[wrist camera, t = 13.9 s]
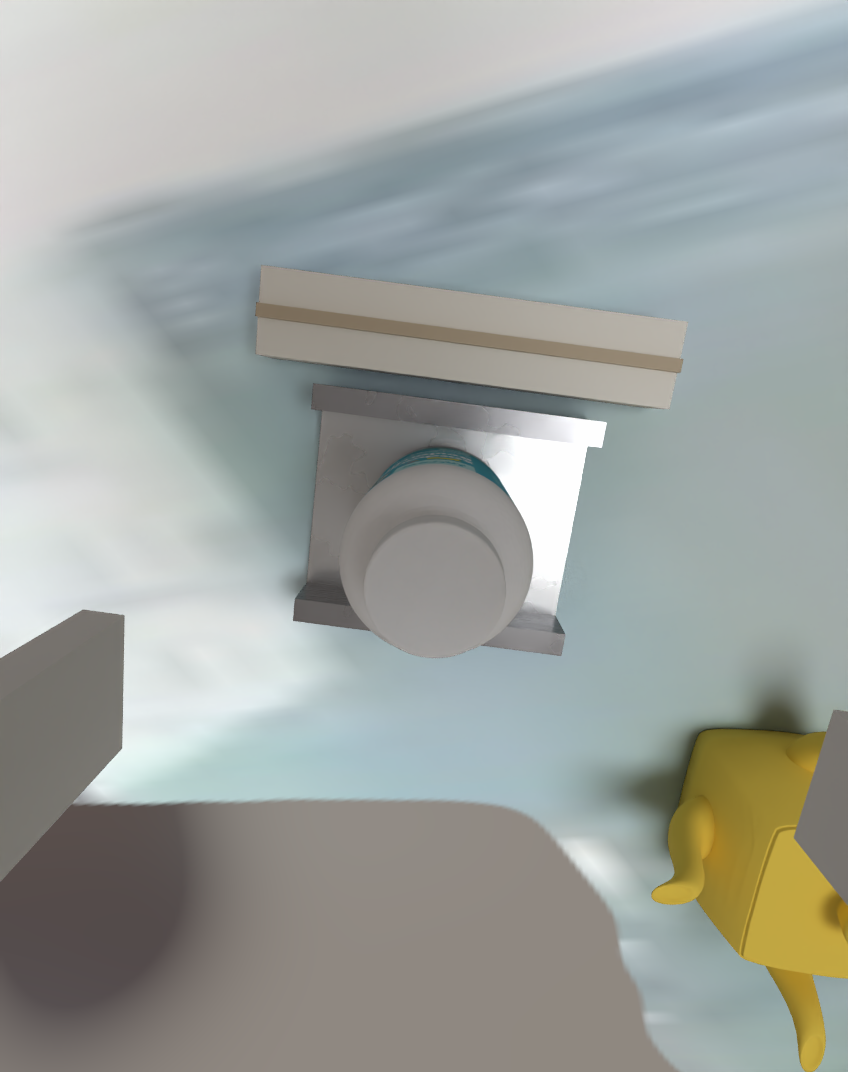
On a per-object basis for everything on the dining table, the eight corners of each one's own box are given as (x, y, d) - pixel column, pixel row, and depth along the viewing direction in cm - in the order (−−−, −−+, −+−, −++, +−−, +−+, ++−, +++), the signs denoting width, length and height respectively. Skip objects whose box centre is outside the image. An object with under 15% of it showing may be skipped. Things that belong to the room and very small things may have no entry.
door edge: (278, 277, 31) (258, 263, 28) (664, 329, 31) (691, 320, 28) (272, 358, 32) (253, 353, 28) (648, 408, 32) (672, 409, 29)
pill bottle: (464, 418, 31) (482, 431, 18) (531, 538, 33) (593, 632, 20) (343, 489, 32) (277, 551, 19) (413, 602, 34) (395, 733, 21)
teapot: (600, 780, 37) (655, 911, 28) (801, 645, 35) (937, 738, 25) (732, 936, 39) (824, 1106, 30) (929, 819, 37) (1096, 963, 28)
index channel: (327, 384, 32) (313, 383, 28) (588, 419, 32) (606, 422, 29) (307, 598, 35) (293, 620, 31) (548, 630, 35) (561, 656, 31)
